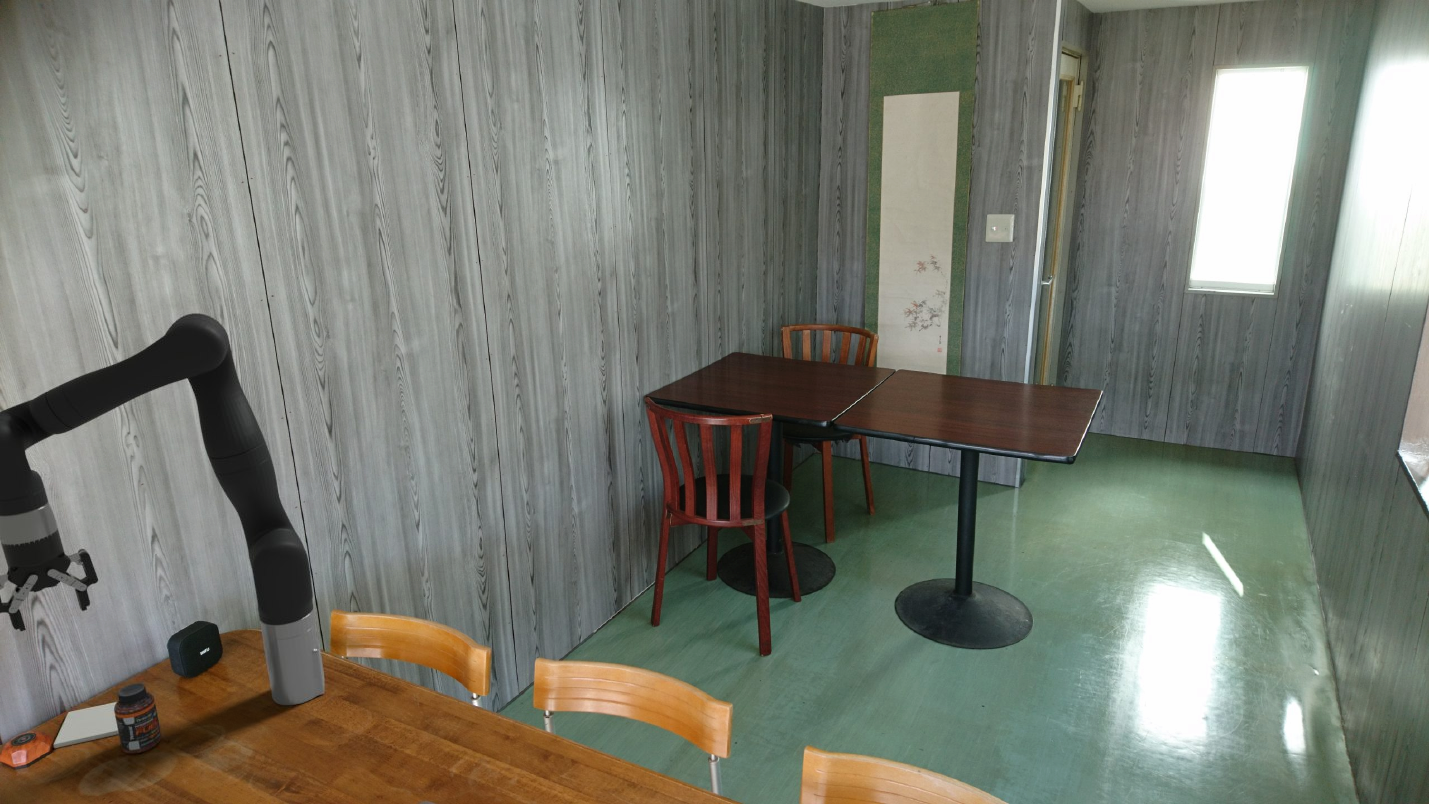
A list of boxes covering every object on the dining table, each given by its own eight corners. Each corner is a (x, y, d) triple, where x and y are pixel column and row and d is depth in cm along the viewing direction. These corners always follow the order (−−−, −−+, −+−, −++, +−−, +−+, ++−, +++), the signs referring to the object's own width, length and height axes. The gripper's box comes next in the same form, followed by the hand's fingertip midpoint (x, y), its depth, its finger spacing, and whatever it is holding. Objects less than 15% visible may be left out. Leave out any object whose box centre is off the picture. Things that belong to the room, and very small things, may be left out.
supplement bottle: (142, 757, 147) (130, 701, 144) (113, 753, 148) (101, 697, 145) (170, 735, 153) (159, 681, 150) (142, 731, 154) (130, 677, 151)
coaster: (132, 702, 162) (131, 698, 162) (121, 733, 153) (120, 729, 153) (69, 715, 158) (68, 712, 158) (54, 748, 149) (53, 744, 149)
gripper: (-23, 554, 132) (5, 645, 137) (86, 524, 142) (108, 609, 147) (-31, 540, 137) (-3, 628, 142) (75, 512, 147) (97, 595, 152)
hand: (53, 619), depth 144 cm, fingers open, 8 cm apart
